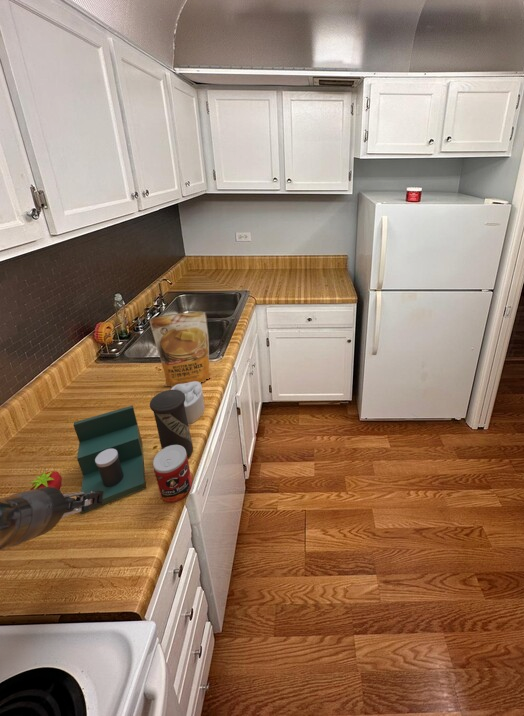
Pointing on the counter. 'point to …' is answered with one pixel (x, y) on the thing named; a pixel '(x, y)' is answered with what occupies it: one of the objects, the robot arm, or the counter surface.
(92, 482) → the spice shelf
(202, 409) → the lumpy-topped squat cylinder
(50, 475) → the strawberry
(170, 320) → the pancake mix bag
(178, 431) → the container
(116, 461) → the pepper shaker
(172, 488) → the canned food
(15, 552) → the counter surface
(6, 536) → the robot arm
